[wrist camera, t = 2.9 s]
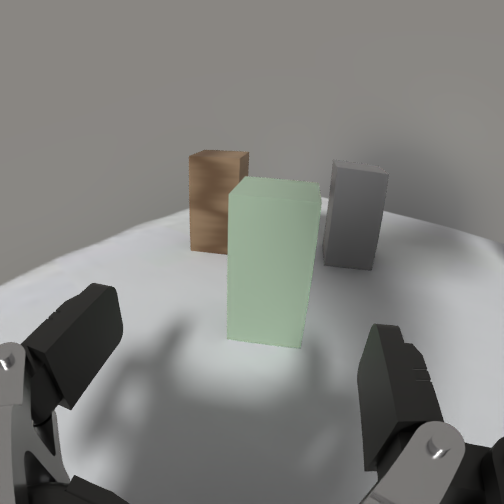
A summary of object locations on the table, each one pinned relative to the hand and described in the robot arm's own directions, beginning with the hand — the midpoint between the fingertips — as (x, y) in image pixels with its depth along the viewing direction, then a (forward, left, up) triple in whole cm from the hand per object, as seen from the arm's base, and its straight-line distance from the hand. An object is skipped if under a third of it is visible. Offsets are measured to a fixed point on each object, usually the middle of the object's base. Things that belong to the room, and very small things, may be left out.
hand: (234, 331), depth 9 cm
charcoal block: (-7, -25, -8) cm, 27 cm away
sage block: (0, -12, -8) cm, 14 cm away
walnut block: (+7, -25, -8) cm, 27 cm away
